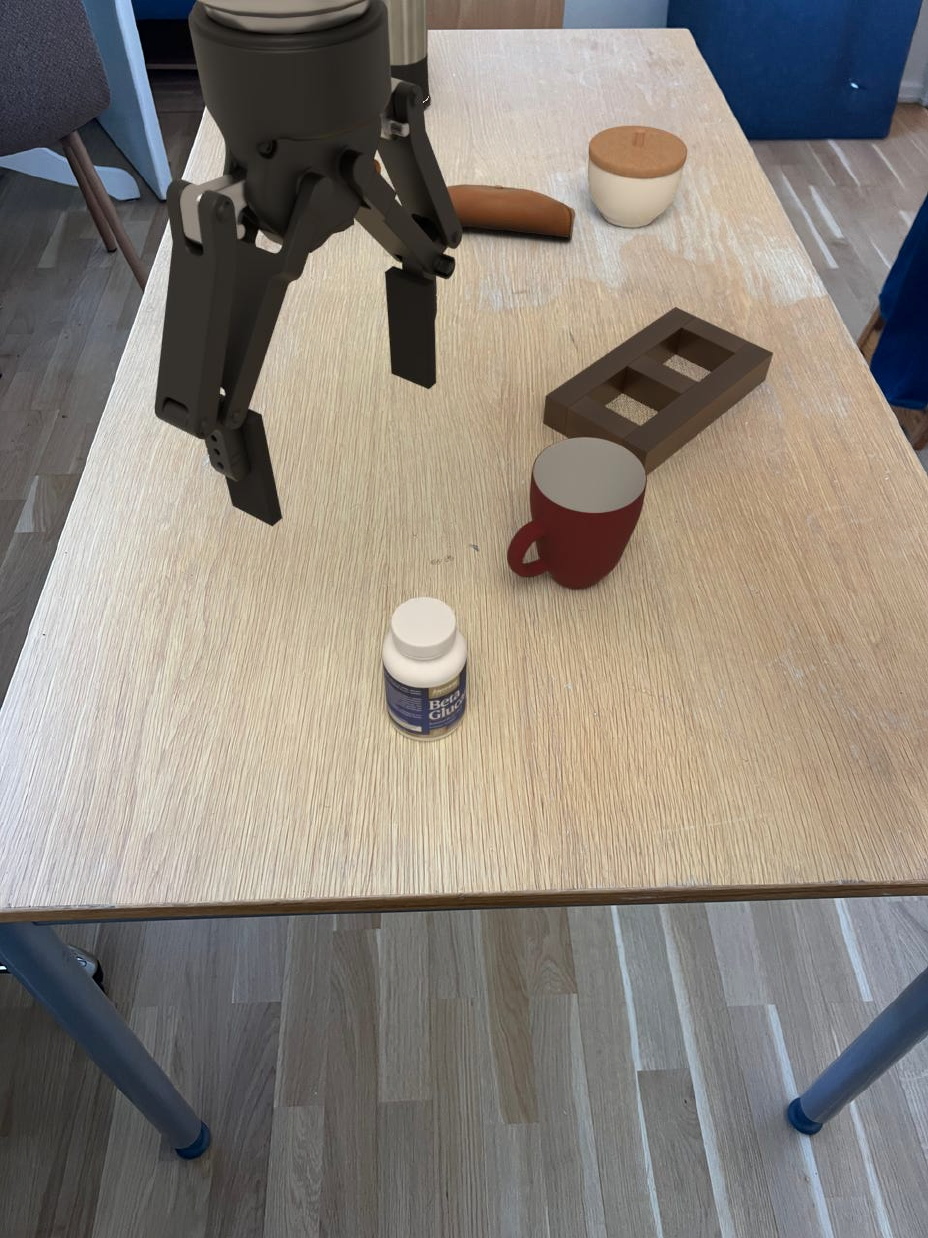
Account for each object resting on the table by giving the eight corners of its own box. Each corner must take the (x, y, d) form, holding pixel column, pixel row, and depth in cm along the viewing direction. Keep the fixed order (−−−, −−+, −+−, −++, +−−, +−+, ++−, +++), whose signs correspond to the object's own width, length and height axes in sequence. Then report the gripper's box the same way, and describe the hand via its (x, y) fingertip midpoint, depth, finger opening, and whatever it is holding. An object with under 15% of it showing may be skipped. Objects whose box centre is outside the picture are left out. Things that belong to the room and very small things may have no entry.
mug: (553, 645, 68) (565, 549, 61) (478, 583, 72) (481, 486, 65) (649, 574, 73) (671, 477, 65) (574, 519, 77) (587, 421, 69)
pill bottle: (437, 757, 62) (434, 669, 55) (372, 720, 64) (360, 630, 57) (481, 701, 65) (484, 610, 58) (417, 667, 67) (412, 575, 60)
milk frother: (445, 98, 129) (443, -28, 118) (378, 141, 121) (369, 10, 109) (361, 76, 134) (352, -48, 123) (291, 116, 125) (274, -13, 114)
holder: (765, 379, 89) (773, 352, 87) (641, 480, 80) (647, 452, 78) (670, 333, 94) (675, 306, 92) (542, 422, 85) (545, 395, 82)
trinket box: (673, 194, 112) (687, 111, 105) (677, 240, 105) (693, 155, 98) (582, 190, 113) (591, 107, 106) (581, 235, 106) (590, 150, 99)
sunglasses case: (577, 204, 109) (579, 168, 103) (569, 260, 108) (571, 227, 102) (424, 192, 111) (417, 155, 104) (415, 247, 110) (408, 213, 103)
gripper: (403, -98, 43) (418, 313, 60) (-62, 83, 30) (121, 548, 46) (543, -70, 41) (519, 352, 57) (102, 142, 27) (235, 614, 44)
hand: (341, 441), depth 52 cm, fingers open, 13 cm apart
